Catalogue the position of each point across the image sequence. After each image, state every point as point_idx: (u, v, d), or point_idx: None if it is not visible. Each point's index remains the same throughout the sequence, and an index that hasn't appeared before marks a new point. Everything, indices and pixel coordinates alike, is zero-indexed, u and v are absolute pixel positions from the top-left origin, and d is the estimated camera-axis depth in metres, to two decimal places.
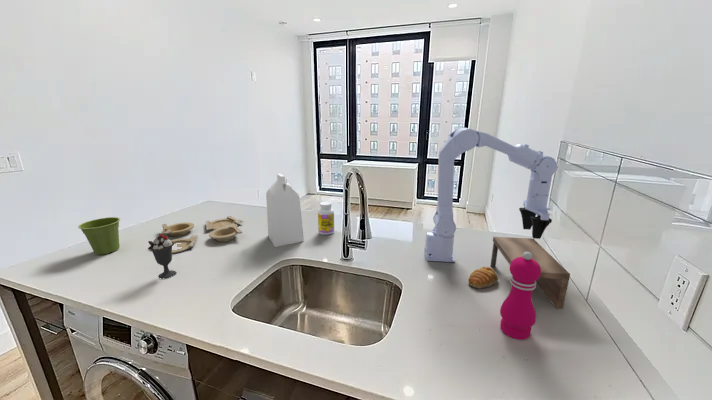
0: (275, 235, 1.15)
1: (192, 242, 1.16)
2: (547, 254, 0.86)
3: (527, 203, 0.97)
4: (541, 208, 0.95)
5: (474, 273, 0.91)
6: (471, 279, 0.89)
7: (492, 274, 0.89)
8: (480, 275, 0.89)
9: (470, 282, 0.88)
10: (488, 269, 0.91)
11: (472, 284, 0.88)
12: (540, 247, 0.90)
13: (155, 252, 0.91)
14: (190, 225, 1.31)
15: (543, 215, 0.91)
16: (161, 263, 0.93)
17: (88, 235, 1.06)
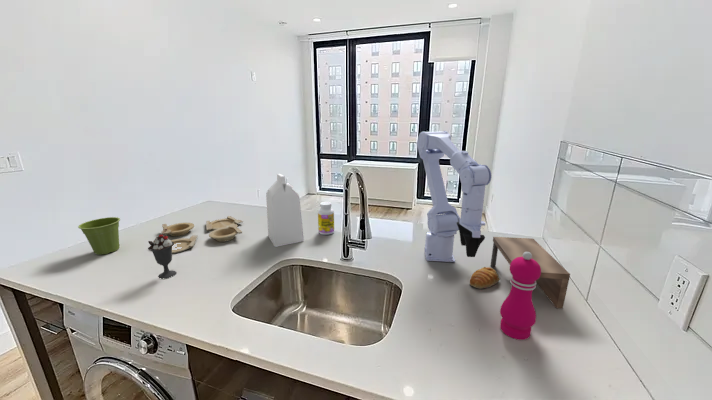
0: (275, 235, 1.15)
1: (192, 242, 1.16)
2: (547, 254, 0.86)
3: (461, 218, 0.89)
4: (474, 224, 0.86)
5: (475, 273, 0.91)
6: (472, 279, 0.88)
7: (493, 274, 0.89)
8: (481, 275, 0.89)
9: (472, 282, 0.88)
10: (489, 269, 0.91)
11: (474, 284, 0.87)
12: (540, 247, 0.90)
13: (155, 252, 0.91)
14: (190, 225, 1.31)
15: (474, 232, 0.82)
16: (161, 263, 0.93)
17: (88, 235, 1.06)
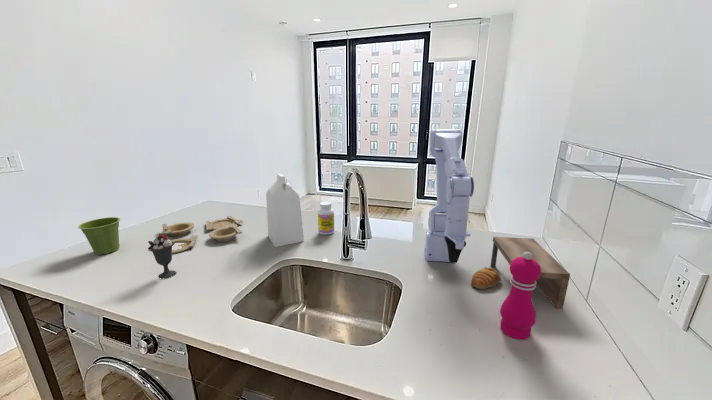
0: (275, 235, 1.15)
1: (192, 242, 1.16)
2: (547, 254, 0.86)
3: (446, 228, 0.88)
4: (459, 235, 0.85)
5: (477, 274, 0.90)
6: (474, 280, 0.88)
7: (495, 275, 0.89)
8: (483, 276, 0.89)
9: (473, 283, 0.88)
10: (490, 270, 0.91)
11: (475, 285, 0.87)
12: (540, 247, 0.90)
13: (155, 252, 0.91)
14: (190, 225, 1.31)
15: (457, 244, 0.81)
16: (161, 263, 0.93)
17: (88, 235, 1.06)
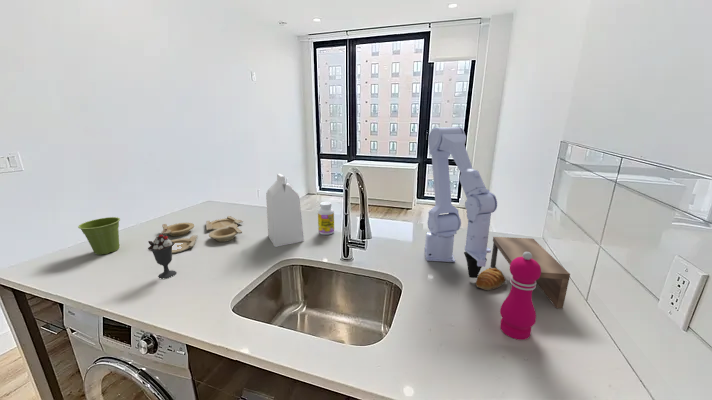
0: (275, 235, 1.15)
1: (192, 242, 1.16)
2: (547, 254, 0.86)
3: (466, 245, 0.88)
4: (480, 251, 0.86)
5: (481, 275, 0.90)
6: (479, 281, 0.87)
7: (500, 275, 0.88)
8: (488, 276, 0.88)
9: (478, 284, 0.87)
10: (495, 270, 0.91)
11: (481, 286, 0.86)
12: (540, 247, 0.90)
13: (155, 252, 0.91)
14: (190, 225, 1.31)
15: (479, 261, 0.82)
16: (161, 263, 0.93)
17: (88, 235, 1.06)
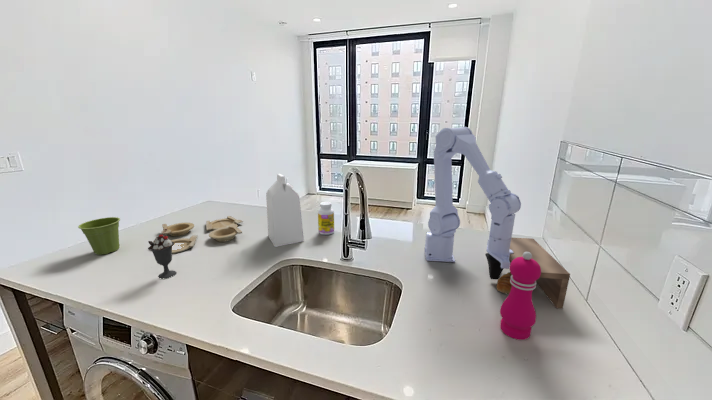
0: (275, 235, 1.15)
1: (192, 242, 1.16)
2: (547, 254, 0.86)
3: (488, 246, 0.88)
4: (503, 253, 0.85)
5: (502, 278, 0.88)
6: (500, 285, 0.86)
7: None
8: (509, 280, 0.86)
9: (499, 288, 0.85)
10: None
11: (501, 290, 0.85)
12: (540, 247, 0.90)
13: (155, 252, 0.91)
14: (190, 225, 1.31)
15: (503, 263, 0.81)
16: (161, 263, 0.93)
17: (88, 235, 1.06)
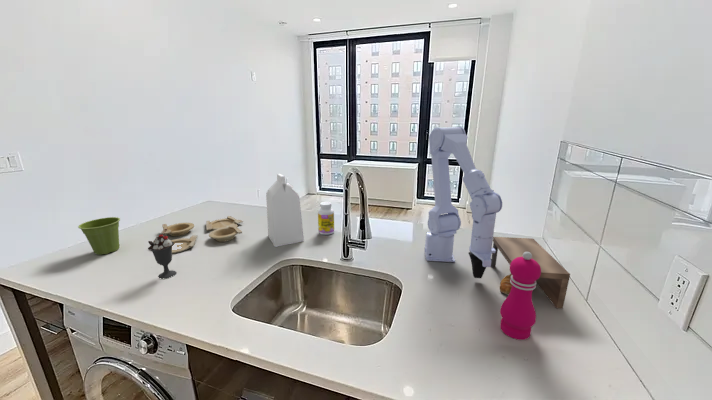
0: (275, 235, 1.15)
1: (192, 242, 1.16)
2: (547, 254, 0.86)
3: (471, 245, 0.88)
4: (485, 252, 0.85)
5: (505, 279, 0.87)
6: (503, 286, 0.85)
7: None
8: None
9: (502, 289, 0.85)
10: None
11: (505, 291, 0.84)
12: (540, 247, 0.90)
13: (155, 252, 0.91)
14: (190, 225, 1.31)
15: (484, 262, 0.82)
16: (161, 263, 0.93)
17: (88, 235, 1.06)
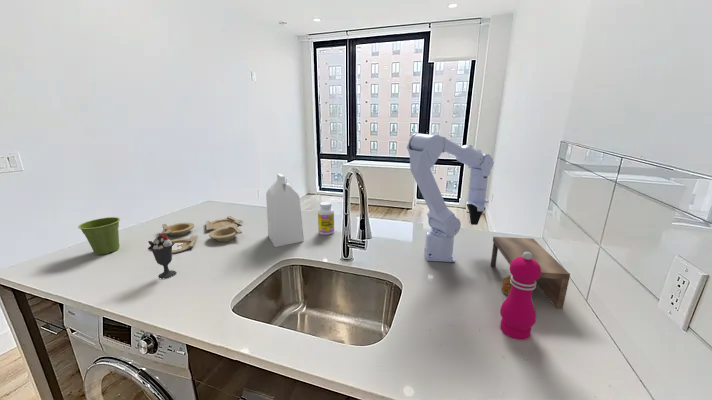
0: (275, 235, 1.15)
1: (192, 242, 1.16)
2: (547, 254, 0.86)
3: (468, 196, 1.07)
4: (479, 201, 1.05)
5: (507, 280, 0.87)
6: (505, 287, 0.85)
7: None
8: None
9: (504, 290, 0.84)
10: None
11: (507, 292, 0.84)
12: (540, 247, 0.90)
13: (155, 252, 0.91)
14: (190, 225, 1.31)
15: (479, 207, 1.01)
16: (161, 263, 0.93)
17: (88, 235, 1.06)
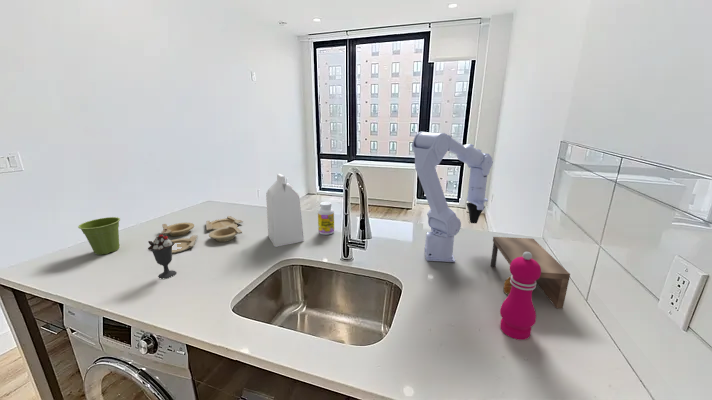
0: (275, 235, 1.15)
1: (192, 242, 1.16)
2: (547, 254, 0.86)
3: (468, 195, 1.09)
4: (479, 200, 1.06)
5: (509, 281, 0.87)
6: (507, 287, 0.84)
7: None
8: None
9: (506, 291, 0.84)
10: None
11: (509, 292, 0.83)
12: (540, 247, 0.90)
13: (155, 252, 0.91)
14: (190, 225, 1.31)
15: (478, 205, 1.03)
16: (161, 263, 0.93)
17: (88, 235, 1.06)
